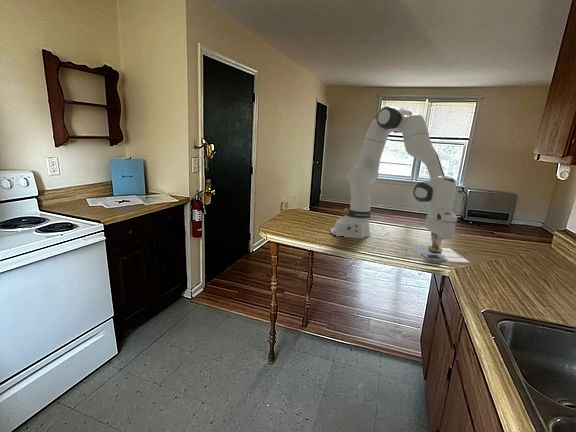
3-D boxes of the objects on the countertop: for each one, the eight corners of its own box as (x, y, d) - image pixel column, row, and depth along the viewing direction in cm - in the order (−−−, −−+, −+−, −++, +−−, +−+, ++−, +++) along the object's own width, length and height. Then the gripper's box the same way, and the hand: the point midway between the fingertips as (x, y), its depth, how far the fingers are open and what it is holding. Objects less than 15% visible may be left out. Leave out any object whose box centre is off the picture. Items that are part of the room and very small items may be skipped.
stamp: (431, 253, 140) (434, 236, 138) (427, 250, 144) (430, 233, 142) (441, 253, 140) (444, 236, 138) (437, 250, 144) (439, 233, 142)
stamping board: (426, 263, 138) (426, 258, 137) (409, 248, 157) (410, 243, 157) (471, 266, 138) (472, 260, 137) (449, 250, 157) (450, 245, 157)
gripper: (423, 208, 148) (419, 236, 151) (444, 218, 128) (438, 250, 131) (437, 208, 148) (432, 236, 151) (459, 219, 128) (453, 251, 131)
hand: (435, 243), depth 141 cm, fingers closed on stamp, 3 cm apart
